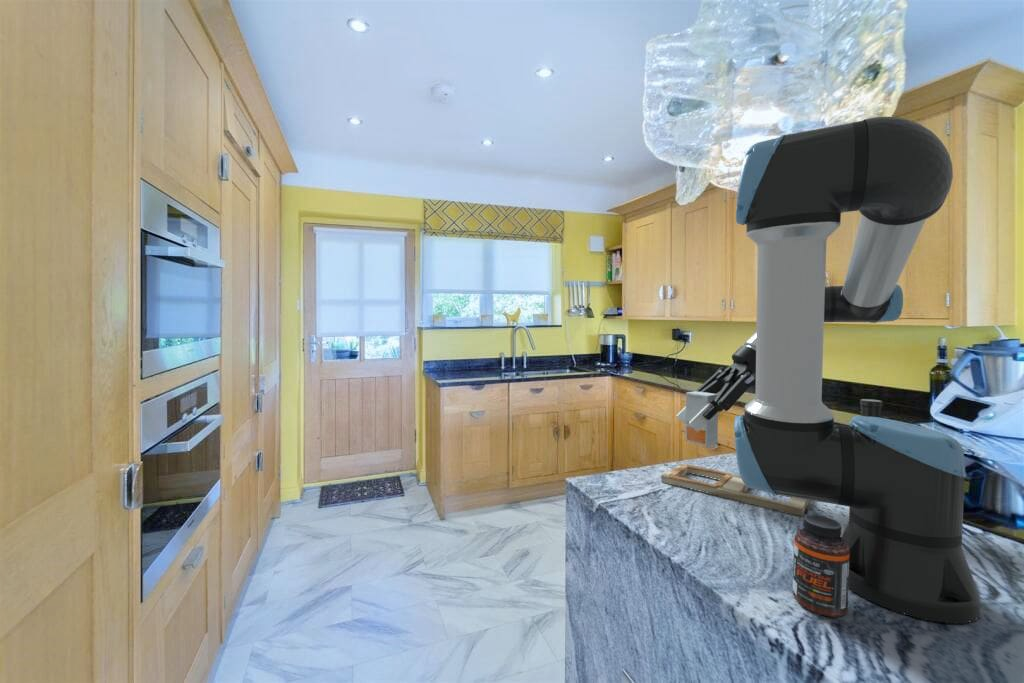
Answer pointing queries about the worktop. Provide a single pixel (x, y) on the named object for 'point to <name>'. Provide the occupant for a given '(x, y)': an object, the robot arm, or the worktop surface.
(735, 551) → the worktop surface
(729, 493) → the socket rail
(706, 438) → the skincare box
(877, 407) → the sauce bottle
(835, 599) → the supplement bottle
